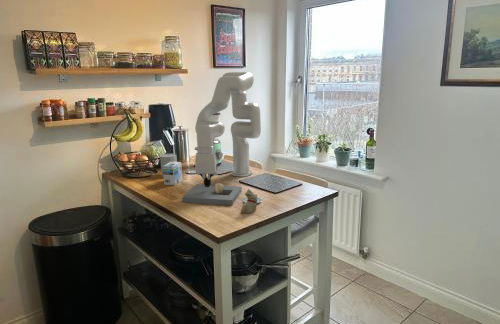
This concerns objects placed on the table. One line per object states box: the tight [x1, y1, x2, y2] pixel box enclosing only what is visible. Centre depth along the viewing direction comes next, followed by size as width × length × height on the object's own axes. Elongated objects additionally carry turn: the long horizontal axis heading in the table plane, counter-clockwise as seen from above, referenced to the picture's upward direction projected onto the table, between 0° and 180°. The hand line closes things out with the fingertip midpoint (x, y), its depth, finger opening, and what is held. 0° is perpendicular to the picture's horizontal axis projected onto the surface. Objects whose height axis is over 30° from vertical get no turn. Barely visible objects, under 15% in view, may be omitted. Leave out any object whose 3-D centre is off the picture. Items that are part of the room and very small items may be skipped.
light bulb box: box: [163, 161, 183, 186], centre depth 192 cm, size 11×7×11 cm, turn 168°
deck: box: [181, 184, 243, 206], centre depth 170 cm, size 20×24×2 cm
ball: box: [213, 182, 225, 193], centre depth 169 cm, size 5×5×5 cm
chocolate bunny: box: [240, 188, 259, 214], centre depth 151 cm, size 6×8×10 cm
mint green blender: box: [196, 112, 224, 166], centre depth 227 cm, size 19×13×35 cm
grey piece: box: [159, 153, 178, 178], centre depth 206 cm, size 10×10×12 cm
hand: (207, 186), depth 170 cm, fingers closed
